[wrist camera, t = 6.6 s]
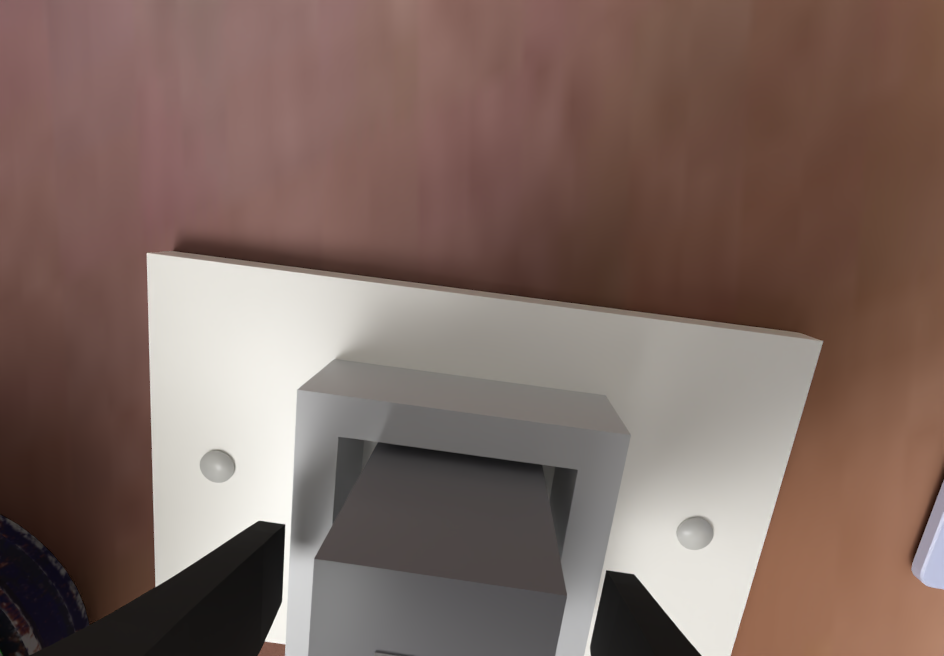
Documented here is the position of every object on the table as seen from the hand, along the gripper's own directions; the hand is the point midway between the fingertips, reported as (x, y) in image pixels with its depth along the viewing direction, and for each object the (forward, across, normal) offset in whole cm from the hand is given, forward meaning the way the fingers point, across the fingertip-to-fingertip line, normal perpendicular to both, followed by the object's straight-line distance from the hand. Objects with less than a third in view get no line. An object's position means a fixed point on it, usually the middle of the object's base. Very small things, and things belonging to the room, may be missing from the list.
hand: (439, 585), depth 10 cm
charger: (+3, 0, 0) cm, 3 cm away
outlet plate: (+4, 0, 0) cm, 4 cm away
